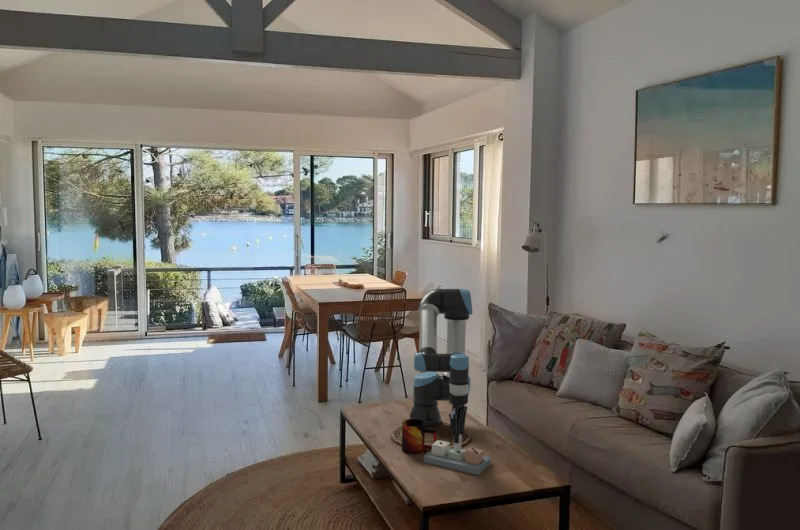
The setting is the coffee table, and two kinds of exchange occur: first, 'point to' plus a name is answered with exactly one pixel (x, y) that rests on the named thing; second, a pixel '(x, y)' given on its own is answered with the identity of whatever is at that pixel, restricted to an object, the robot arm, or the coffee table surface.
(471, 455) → the key three
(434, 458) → the keypad board
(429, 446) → the mug
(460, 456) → the key two
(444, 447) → the key one
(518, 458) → the coffee table surface
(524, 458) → the coffee table surface
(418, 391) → the robot arm
